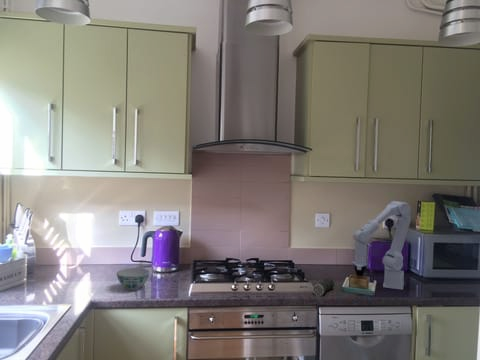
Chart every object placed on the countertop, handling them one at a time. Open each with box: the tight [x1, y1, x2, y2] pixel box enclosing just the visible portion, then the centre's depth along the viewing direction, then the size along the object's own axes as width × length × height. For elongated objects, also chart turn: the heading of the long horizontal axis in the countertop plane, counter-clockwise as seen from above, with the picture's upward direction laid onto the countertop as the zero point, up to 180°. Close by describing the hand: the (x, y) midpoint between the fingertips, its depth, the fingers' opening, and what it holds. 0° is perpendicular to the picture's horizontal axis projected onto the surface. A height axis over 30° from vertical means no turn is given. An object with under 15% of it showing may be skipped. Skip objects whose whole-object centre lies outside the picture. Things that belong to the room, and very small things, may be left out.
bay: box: [341, 276, 377, 296], centre depth 196 cm, size 15×20×2 cm
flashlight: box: [312, 278, 335, 297], centre depth 188 cm, size 15×5×5 cm, turn 146°
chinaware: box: [116, 267, 150, 291], centre depth 184 cm, size 15×15×8 cm
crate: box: [348, 274, 370, 290], centre depth 192 cm, size 9×7×6 cm
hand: (359, 280), depth 196 cm, fingers closed
